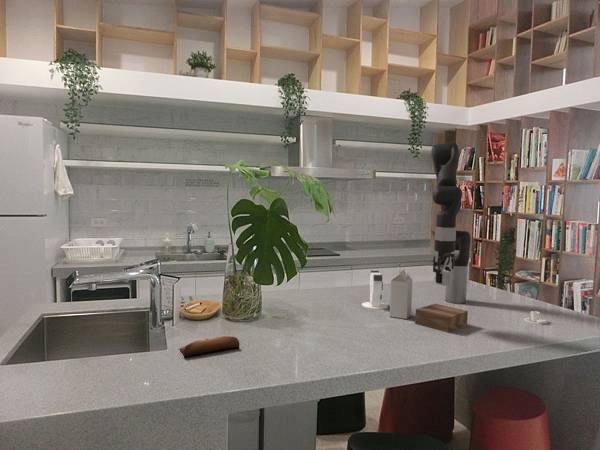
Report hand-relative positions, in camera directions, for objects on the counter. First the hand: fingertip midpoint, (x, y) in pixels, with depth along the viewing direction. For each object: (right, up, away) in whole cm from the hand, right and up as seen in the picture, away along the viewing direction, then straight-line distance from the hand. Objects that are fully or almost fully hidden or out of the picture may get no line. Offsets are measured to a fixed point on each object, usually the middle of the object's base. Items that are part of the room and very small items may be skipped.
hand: (443, 281), depth 172 cm
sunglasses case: (-84, -18, -30) cm, 91 cm away
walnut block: (0, -17, +1) cm, 17 cm away
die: (0, -1, 0) cm, 1 cm away
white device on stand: (-22, -14, +27) cm, 37 cm away
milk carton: (-14, -16, +12) cm, 24 cm away
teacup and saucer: (+38, -18, +7) cm, 42 cm away
